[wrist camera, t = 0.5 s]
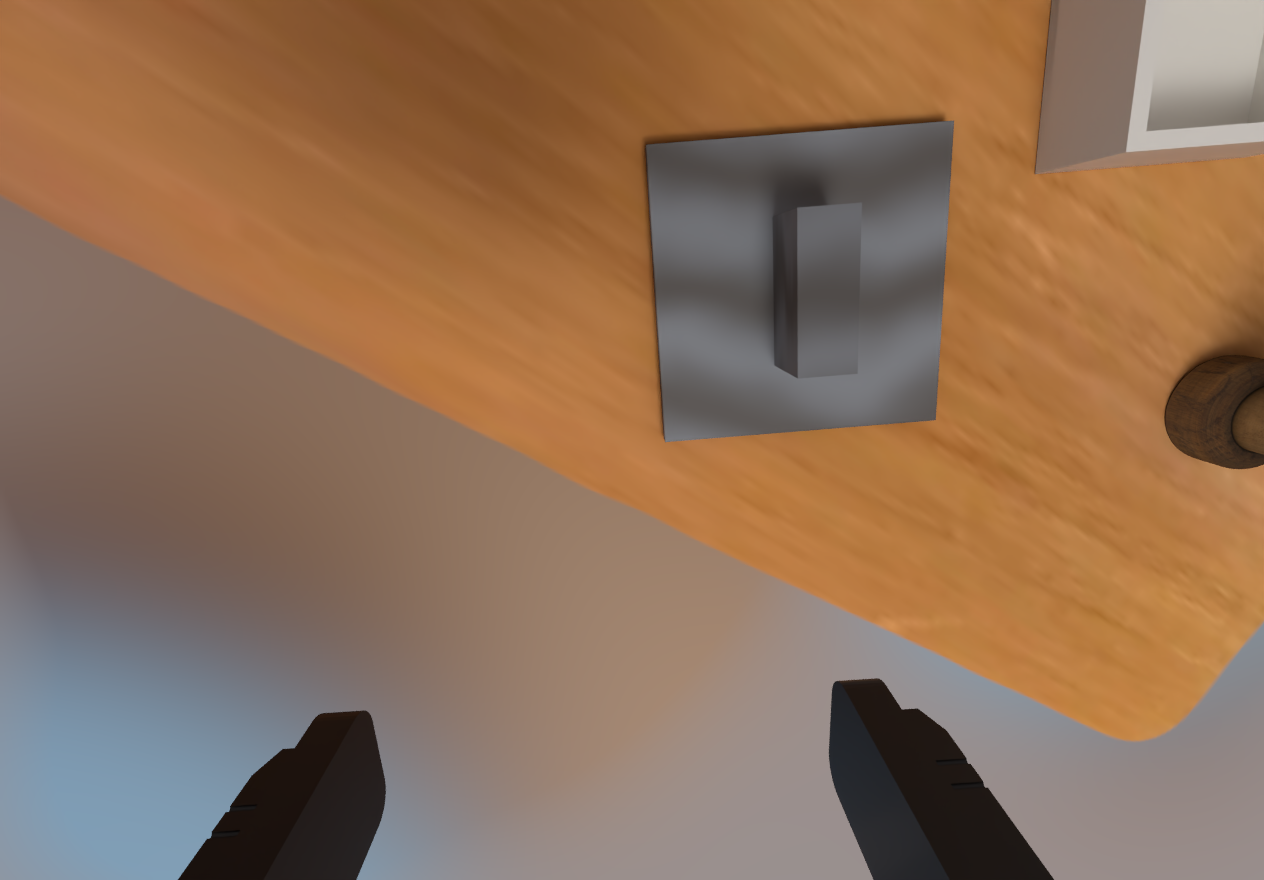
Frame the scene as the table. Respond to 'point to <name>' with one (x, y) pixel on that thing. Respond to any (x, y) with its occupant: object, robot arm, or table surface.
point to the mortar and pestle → (1220, 412)
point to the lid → (799, 278)
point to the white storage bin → (1151, 83)
